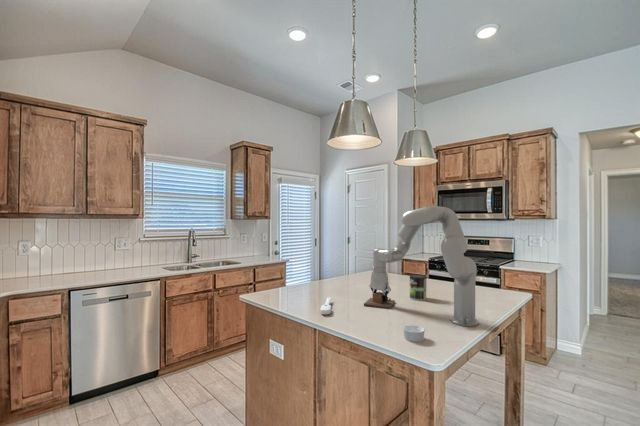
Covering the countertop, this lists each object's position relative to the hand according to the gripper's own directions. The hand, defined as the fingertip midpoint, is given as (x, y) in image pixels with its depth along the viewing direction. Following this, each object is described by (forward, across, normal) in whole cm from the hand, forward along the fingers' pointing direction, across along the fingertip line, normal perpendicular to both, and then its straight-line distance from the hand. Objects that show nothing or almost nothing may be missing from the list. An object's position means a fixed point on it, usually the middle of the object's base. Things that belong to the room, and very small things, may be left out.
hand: (379, 300), depth 187 cm
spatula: (+2, -14, -29) cm, 32 cm away
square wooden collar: (+1, 0, +2) cm, 2 cm away
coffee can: (+3, +7, +29) cm, 30 cm away
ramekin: (+3, +42, -31) cm, 52 cm away
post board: (+2, 0, 0) cm, 2 cm away
